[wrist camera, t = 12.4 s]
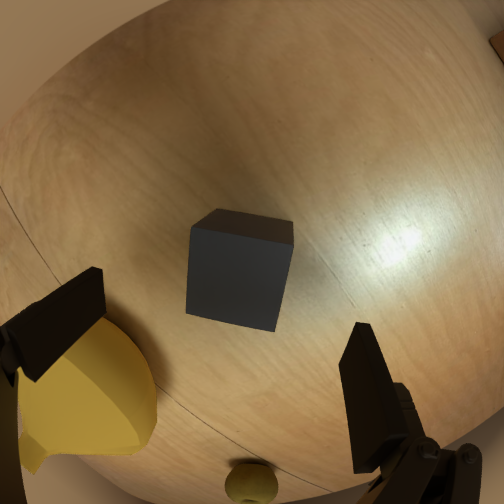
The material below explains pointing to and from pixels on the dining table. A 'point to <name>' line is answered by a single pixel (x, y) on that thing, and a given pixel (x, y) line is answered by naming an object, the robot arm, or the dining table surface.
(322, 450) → the dining table surface
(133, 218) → the dining table surface
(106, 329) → the vase
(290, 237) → the slate block
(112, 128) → the dining table surface
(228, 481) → the apple
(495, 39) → the wooden block
